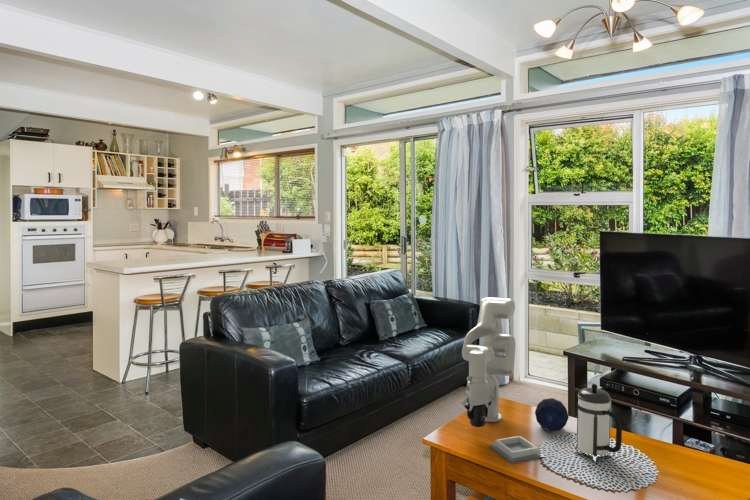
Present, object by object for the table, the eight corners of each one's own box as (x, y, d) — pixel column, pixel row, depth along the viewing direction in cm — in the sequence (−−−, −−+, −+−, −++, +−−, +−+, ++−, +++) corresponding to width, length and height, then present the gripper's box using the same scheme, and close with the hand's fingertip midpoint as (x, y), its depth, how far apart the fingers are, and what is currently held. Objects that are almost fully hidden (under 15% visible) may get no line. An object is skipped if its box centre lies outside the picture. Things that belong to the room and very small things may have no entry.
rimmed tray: (489, 446, 215) (489, 438, 215) (520, 441, 220) (521, 433, 220) (511, 463, 200) (511, 455, 200) (544, 457, 205) (544, 449, 205)
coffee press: (573, 460, 202) (575, 388, 201) (573, 444, 217) (574, 376, 216) (620, 468, 196) (623, 393, 194) (617, 451, 211) (619, 381, 209)
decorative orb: (580, 421, 229) (563, 390, 235) (560, 429, 220) (543, 397, 227) (558, 431, 238) (543, 401, 245) (538, 439, 230) (523, 408, 237)
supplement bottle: (485, 428, 218) (485, 401, 217) (469, 427, 219) (469, 400, 218) (485, 421, 225) (485, 395, 223) (469, 420, 226) (469, 394, 225)
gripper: (464, 384, 214) (464, 424, 215) (499, 378, 219) (499, 417, 221) (455, 378, 221) (456, 417, 222) (490, 373, 226) (490, 410, 228)
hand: (477, 416), depth 222 cm, fingers closed on supplement bottle, 6 cm apart
